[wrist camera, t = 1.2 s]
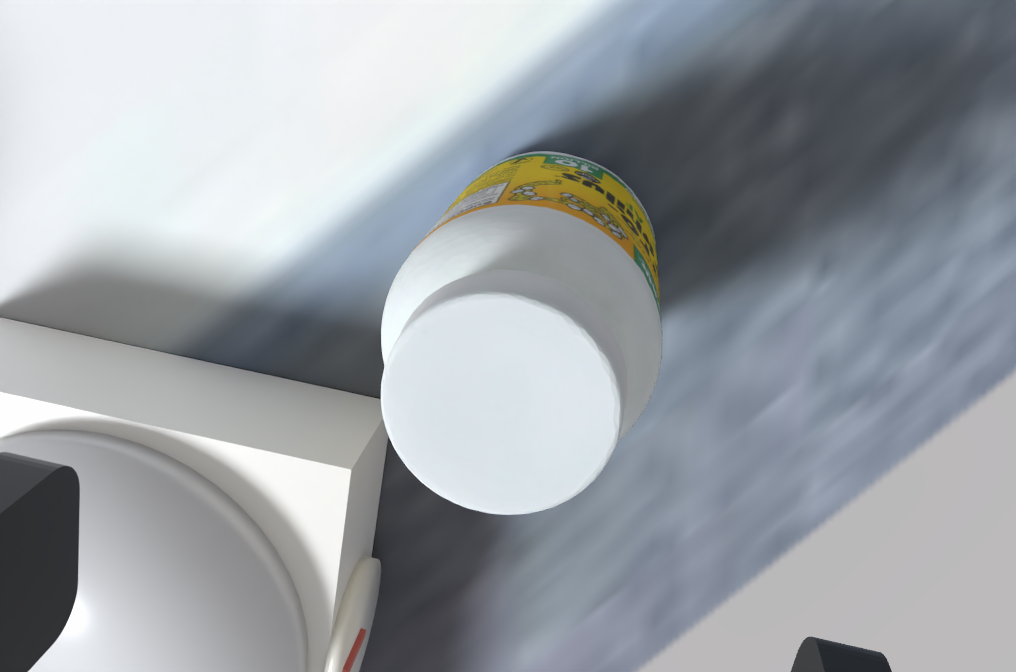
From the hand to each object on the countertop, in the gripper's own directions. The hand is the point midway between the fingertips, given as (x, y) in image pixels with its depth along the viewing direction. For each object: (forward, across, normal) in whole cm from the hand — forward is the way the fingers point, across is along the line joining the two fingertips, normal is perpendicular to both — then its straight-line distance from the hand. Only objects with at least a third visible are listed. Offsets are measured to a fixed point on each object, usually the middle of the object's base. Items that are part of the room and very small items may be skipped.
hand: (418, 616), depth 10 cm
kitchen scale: (+15, +9, +11) cm, 21 cm away
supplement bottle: (+15, 0, 0) cm, 15 cm away
